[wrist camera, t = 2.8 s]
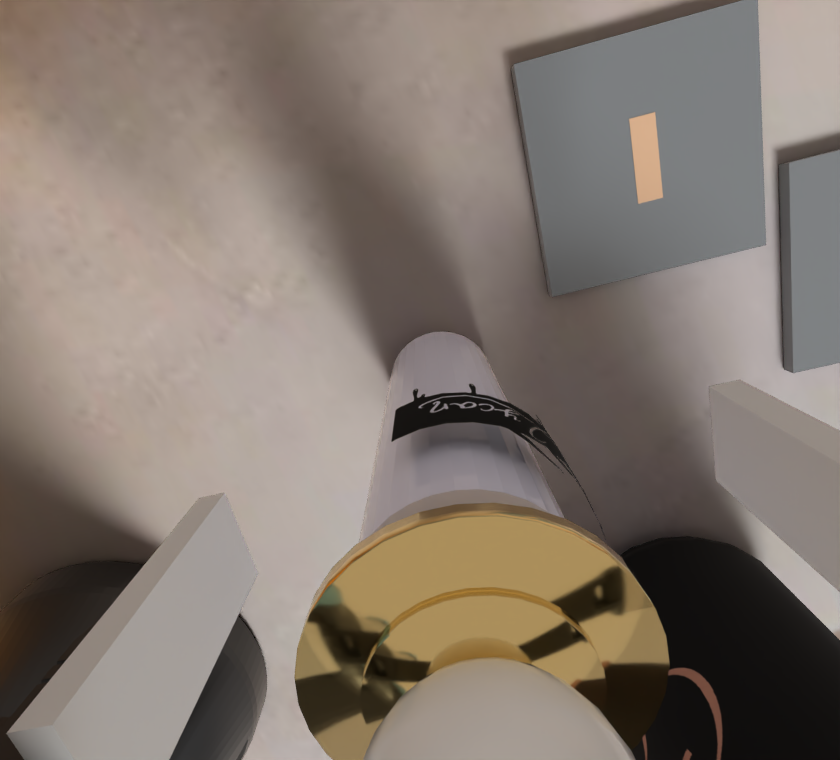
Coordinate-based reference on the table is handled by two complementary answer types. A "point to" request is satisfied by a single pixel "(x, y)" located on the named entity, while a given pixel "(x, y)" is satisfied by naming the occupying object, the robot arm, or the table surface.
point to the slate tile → (646, 148)
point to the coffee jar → (736, 659)
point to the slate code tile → (810, 260)
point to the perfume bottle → (474, 594)
